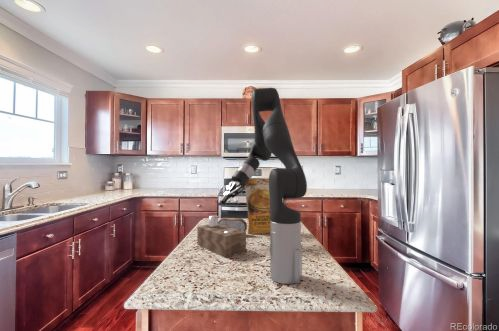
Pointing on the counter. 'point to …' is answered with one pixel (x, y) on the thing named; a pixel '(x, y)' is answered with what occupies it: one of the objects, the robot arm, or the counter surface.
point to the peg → (213, 221)
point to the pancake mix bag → (258, 206)
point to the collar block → (221, 240)
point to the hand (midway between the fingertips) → (221, 203)
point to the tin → (234, 223)
